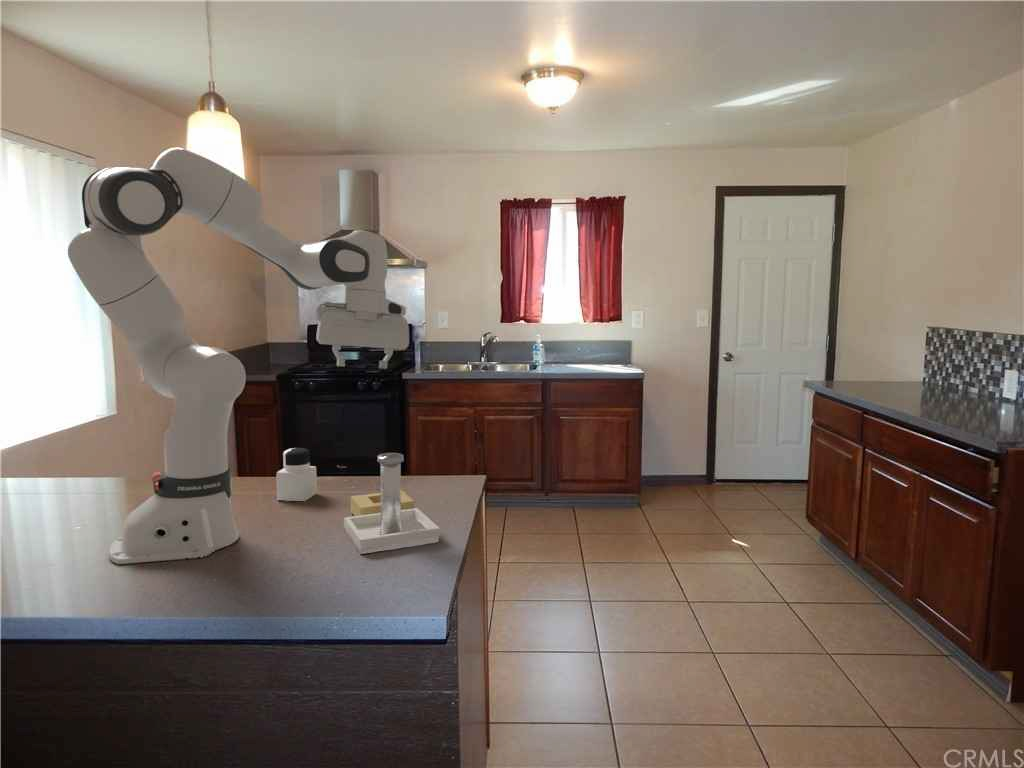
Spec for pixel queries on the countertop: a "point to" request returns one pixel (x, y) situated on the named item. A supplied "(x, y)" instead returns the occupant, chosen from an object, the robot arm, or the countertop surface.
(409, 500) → the block
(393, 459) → the steel pin
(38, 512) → the countertop surface
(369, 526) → the tray
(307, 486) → the medicine bottle
